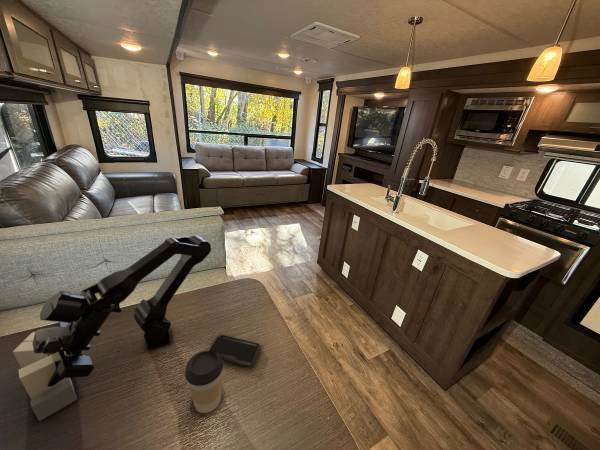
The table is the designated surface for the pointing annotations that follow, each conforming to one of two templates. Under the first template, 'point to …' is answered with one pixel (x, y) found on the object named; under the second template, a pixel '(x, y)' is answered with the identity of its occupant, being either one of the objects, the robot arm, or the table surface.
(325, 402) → the table surface
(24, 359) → the white books
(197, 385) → the coffee cup
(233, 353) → the phone
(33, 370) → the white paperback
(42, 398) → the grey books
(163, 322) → the robot arm
